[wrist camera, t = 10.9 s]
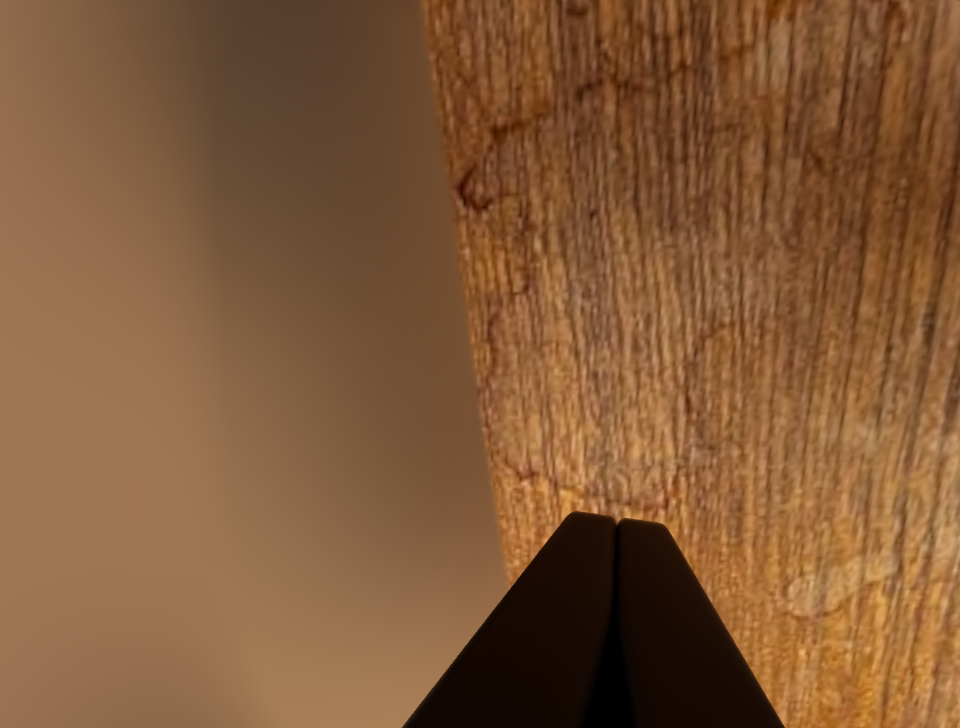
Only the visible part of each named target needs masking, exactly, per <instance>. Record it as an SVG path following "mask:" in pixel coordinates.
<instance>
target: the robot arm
mask: <svg viewBox="0 0 960 728" xmlns="http://www.w3.org/2000/svg"><path fill="white" fill-rule="evenodd" d="M402 728H785V727H784V725H783V724H782V722H781V720H780V719H779V717H778V715H777V713H776V712H775V710H774V708H773V707H772V705H771V703H770V702H769V700H768V698H767V696H766V695H765V693H764V691H763V690H762V688H761V686H760V685H759V683H758V681H757V679H756V678H755V676H754V674H753V673H752V671H751V669H750V668H749V666H748V664H747V662H746V661H745V659H744V657H743V656H742V654H741V652H740V651H739V649H738V647H737V645H736V644H735V642H734V640H733V639H732V637H731V635H730V634H729V632H728V630H727V628H726V627H725V625H724V623H723V622H722V620H721V618H720V617H719V615H718V613H717V612H716V610H715V608H714V606H713V605H712V603H711V601H710V600H709V598H708V596H707V595H706V593H705V591H704V589H703V588H702V586H701V584H700V583H699V581H698V579H697V578H696V576H695V574H694V572H693V571H692V569H691V567H690V566H689V564H688V562H687V561H686V559H685V557H684V555H683V554H682V552H681V550H680V549H679V547H678V545H677V544H676V542H675V540H674V538H673V537H672V535H671V533H670V532H669V530H668V529H667V527H666V526H664V525H663V524H661V523H658V522H650V521H643V520H636V519H629V518H623V519H621V520H620V521H619V522H618V524H616V521H615V519H614V518H613V517H611V516H608V515H600V514H593V513H586V512H579V511H575V512H572V513H570V514H569V515H568V516H567V517H566V518H565V519H564V521H563V522H562V523H561V524H560V526H559V527H558V528H557V530H556V531H555V532H554V533H553V535H552V536H551V537H550V538H549V540H548V541H547V542H546V544H545V545H544V546H543V547H542V549H541V550H540V551H539V553H538V554H537V555H536V556H535V558H534V559H533V560H532V562H531V563H530V564H529V565H528V567H527V568H526V569H525V571H524V572H523V573H522V574H521V576H520V577H519V578H518V579H517V581H516V582H515V583H514V585H513V586H512V587H511V588H510V590H509V591H508V592H507V594H506V595H505V596H504V597H503V599H502V600H501V601H500V603H499V604H498V605H497V606H496V608H495V609H494V610H493V612H492V613H491V614H490V615H489V617H488V618H487V619H486V621H485V622H484V623H483V624H482V626H481V627H480V628H479V629H478V631H477V632H476V633H475V635H474V636H473V637H472V638H471V640H470V641H469V642H468V644H467V645H466V646H465V647H464V649H463V650H462V651H461V652H460V654H459V655H458V656H457V658H456V659H455V660H454V662H453V663H452V664H451V665H450V667H449V668H448V669H447V670H446V672H445V673H444V674H443V676H442V677H441V678H440V680H439V681H438V682H437V683H436V685H435V686H434V687H433V688H432V690H431V691H430V692H429V693H428V695H427V696H426V697H425V699H424V700H423V701H422V702H421V704H420V705H419V706H418V708H417V709H416V710H415V711H414V713H413V714H412V715H411V717H410V718H409V719H408V721H407V722H406V723H405V724H404V726H403V727H402Z"/></svg>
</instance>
